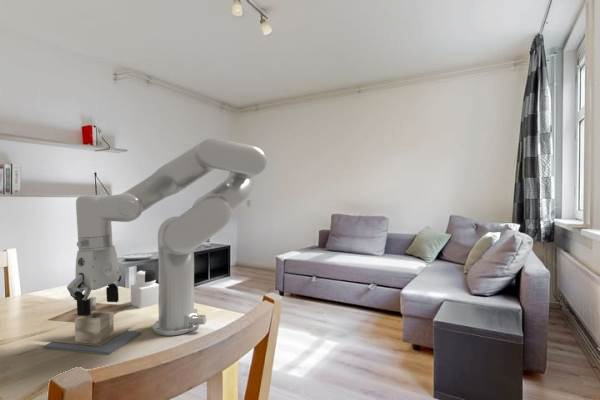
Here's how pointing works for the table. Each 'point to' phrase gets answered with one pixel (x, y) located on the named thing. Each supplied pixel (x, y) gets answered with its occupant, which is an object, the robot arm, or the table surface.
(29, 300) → the table surface
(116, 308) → the peg stand
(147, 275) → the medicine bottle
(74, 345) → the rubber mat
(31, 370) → the table surface
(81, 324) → the ring block
